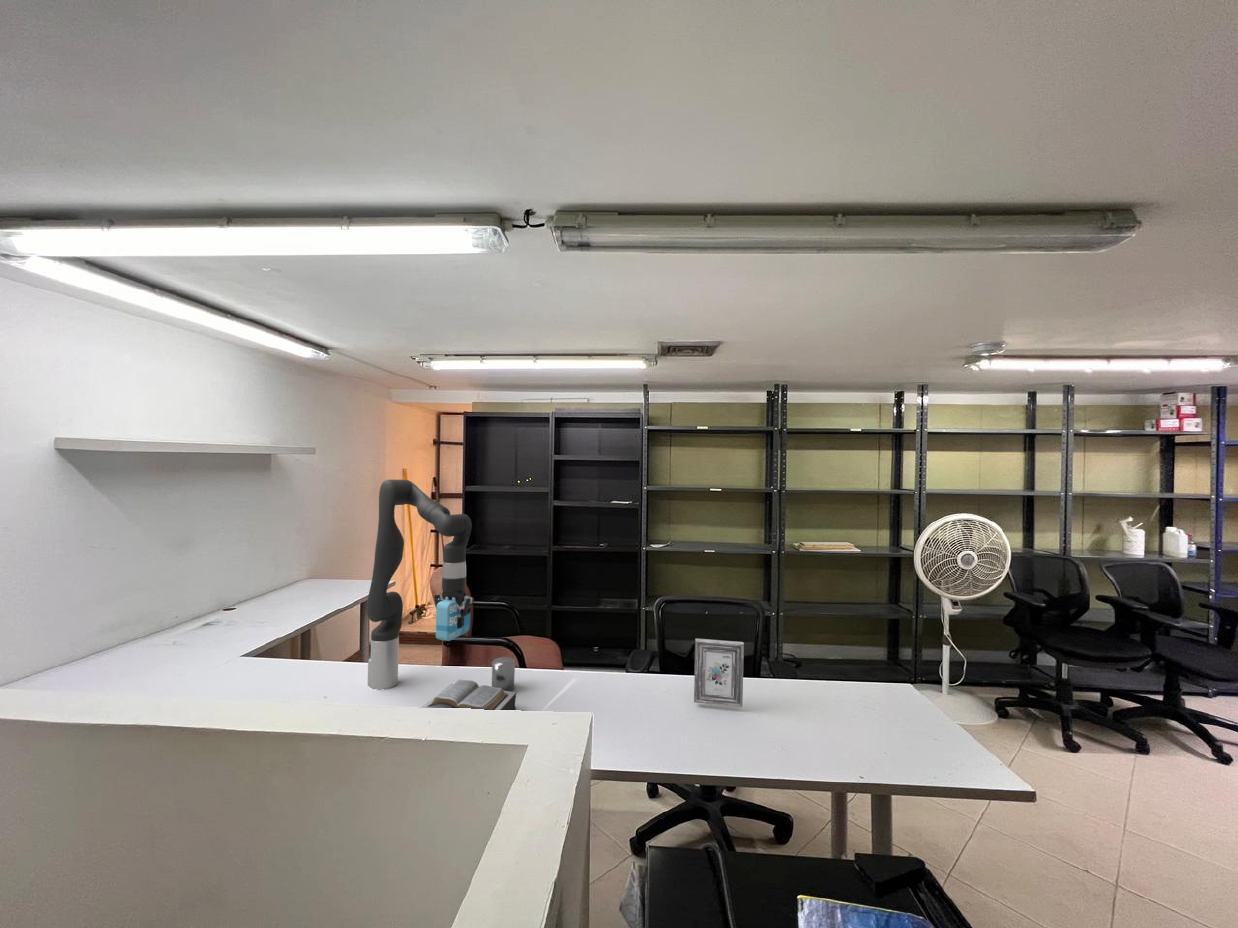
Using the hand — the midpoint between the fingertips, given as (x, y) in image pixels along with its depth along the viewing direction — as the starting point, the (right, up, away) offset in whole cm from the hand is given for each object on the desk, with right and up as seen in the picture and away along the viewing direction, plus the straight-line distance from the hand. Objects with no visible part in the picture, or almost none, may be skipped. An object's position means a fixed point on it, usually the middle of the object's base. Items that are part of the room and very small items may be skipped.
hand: (453, 626), depth 160 cm
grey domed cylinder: (+12, -28, +17) cm, 35 cm away
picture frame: (+89, -30, +9) cm, 94 cm away
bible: (+7, -28, -5) cm, 30 cm away
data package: (0, -3, 0) cm, 3 cm away
